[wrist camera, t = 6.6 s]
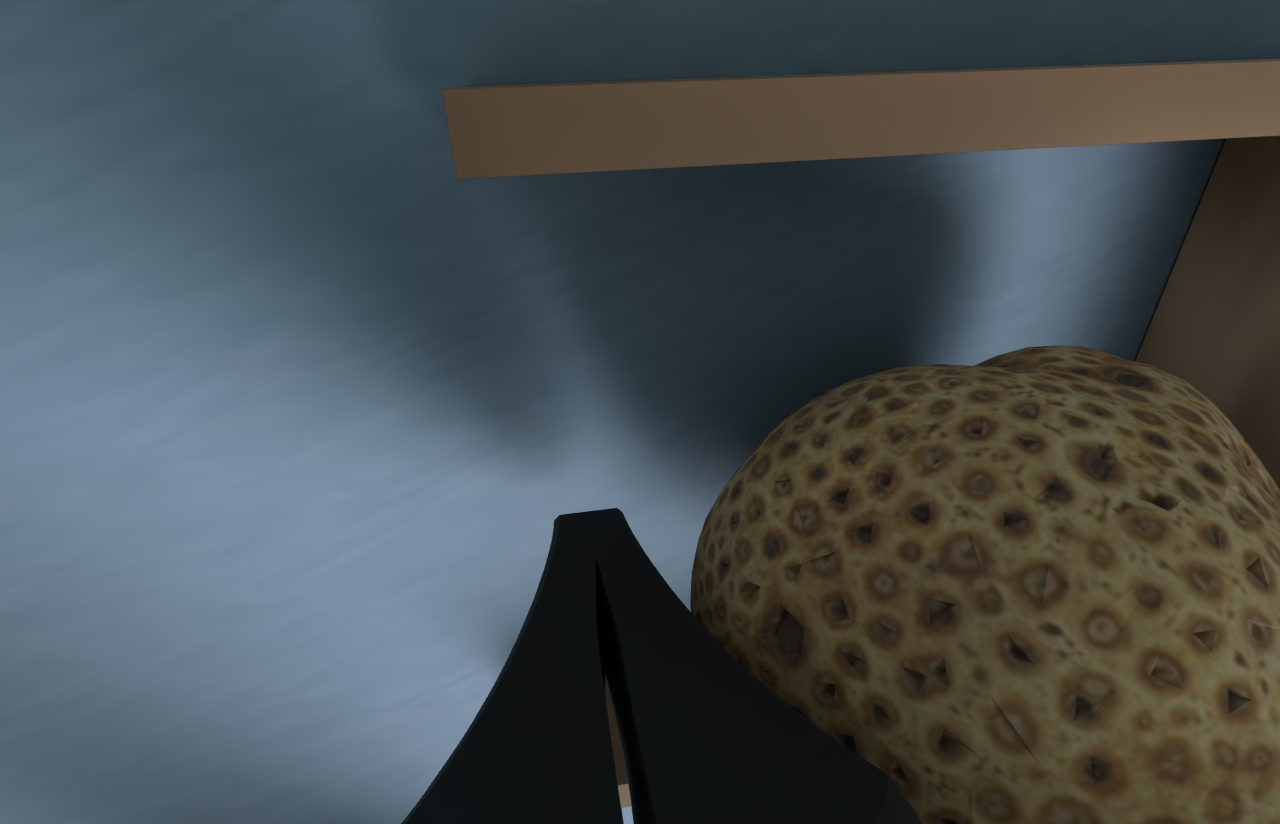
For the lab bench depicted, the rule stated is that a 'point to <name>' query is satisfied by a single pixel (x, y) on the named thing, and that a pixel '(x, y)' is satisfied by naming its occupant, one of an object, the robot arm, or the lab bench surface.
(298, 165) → the lab bench surface
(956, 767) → the natural sponge
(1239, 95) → the wooden u-shaped fence
